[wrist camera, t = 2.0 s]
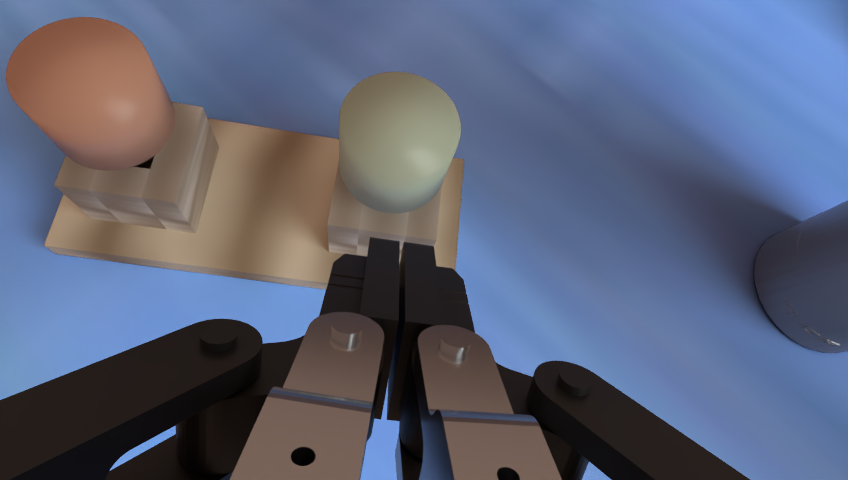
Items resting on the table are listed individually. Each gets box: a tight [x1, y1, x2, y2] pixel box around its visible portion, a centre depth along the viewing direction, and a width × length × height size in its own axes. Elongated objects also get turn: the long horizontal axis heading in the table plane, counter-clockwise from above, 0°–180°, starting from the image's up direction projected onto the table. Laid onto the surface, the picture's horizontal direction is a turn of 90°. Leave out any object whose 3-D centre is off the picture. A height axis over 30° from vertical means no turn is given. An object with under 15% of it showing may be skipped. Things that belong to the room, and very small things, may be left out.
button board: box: [44, 102, 464, 289], centre depth 32 cm, size 24×10×6 cm, turn 84°
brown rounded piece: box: [6, 17, 175, 171], centre depth 26 cm, size 6×6×7 cm
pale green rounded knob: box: [339, 72, 461, 213], centre depth 28 cm, size 6×6×7 cm
